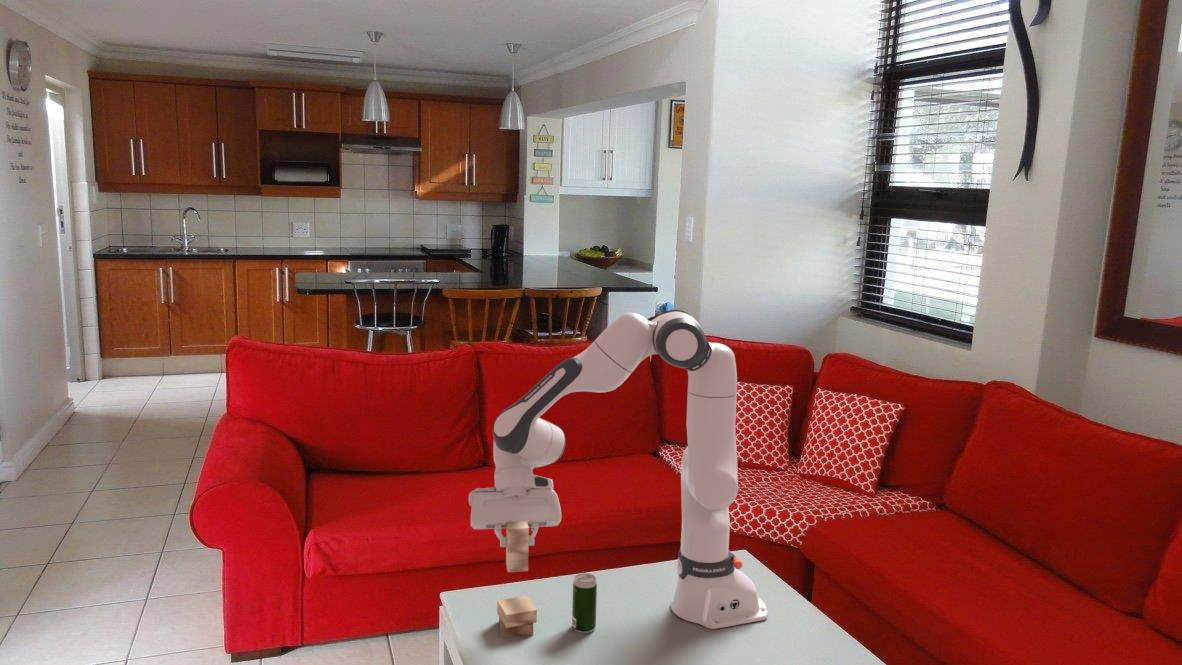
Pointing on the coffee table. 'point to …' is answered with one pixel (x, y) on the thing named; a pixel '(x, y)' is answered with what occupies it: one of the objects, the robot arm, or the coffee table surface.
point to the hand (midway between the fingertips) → (517, 545)
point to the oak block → (516, 611)
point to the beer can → (584, 603)
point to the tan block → (517, 546)
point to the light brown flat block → (515, 630)
